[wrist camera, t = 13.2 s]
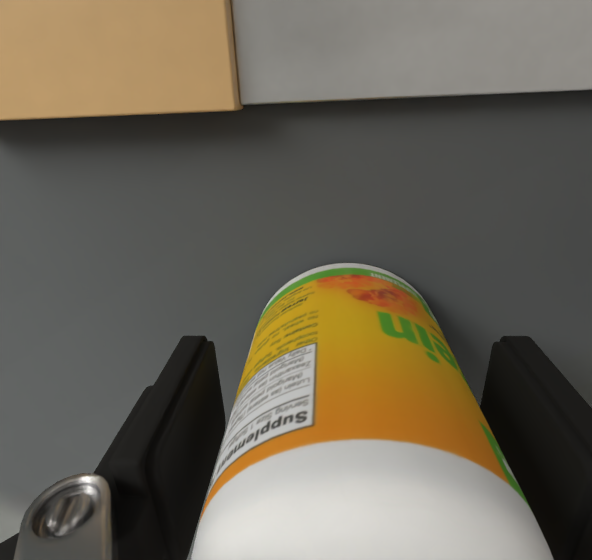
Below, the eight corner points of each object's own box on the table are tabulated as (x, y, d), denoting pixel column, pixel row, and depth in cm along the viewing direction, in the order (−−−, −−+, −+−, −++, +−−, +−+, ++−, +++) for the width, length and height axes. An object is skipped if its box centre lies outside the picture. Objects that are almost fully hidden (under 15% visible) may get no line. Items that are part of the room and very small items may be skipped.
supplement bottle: (471, 344, 12) (898, 1056, 3) (338, 432, 14) (366, 1037, 5) (352, 218, 10) (504, 866, 2) (221, 334, 12) (-36, 937, 3)
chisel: (-28, 121, 10) (-63, 123, 9) (-77, -14, 9) (-122, -27, 8) (688, 90, 9) (730, 89, 8) (742, -71, 8) (800, -93, 7)
